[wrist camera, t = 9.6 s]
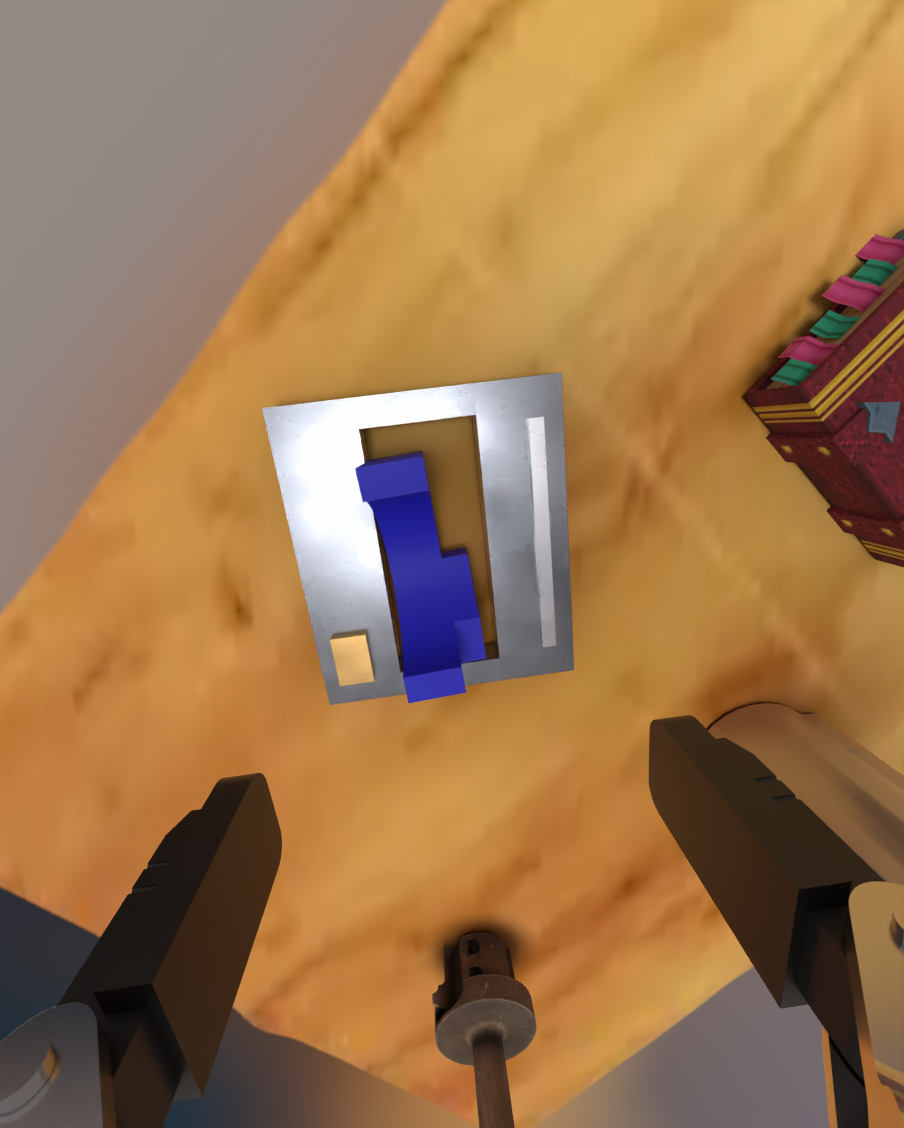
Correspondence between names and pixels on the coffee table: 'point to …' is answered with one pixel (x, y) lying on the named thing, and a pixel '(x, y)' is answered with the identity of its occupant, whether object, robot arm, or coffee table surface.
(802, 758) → the robot arm
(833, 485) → the decorative book
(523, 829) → the coffee table surface
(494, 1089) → the industrial component
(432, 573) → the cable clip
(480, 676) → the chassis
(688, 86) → the coffee table surface
